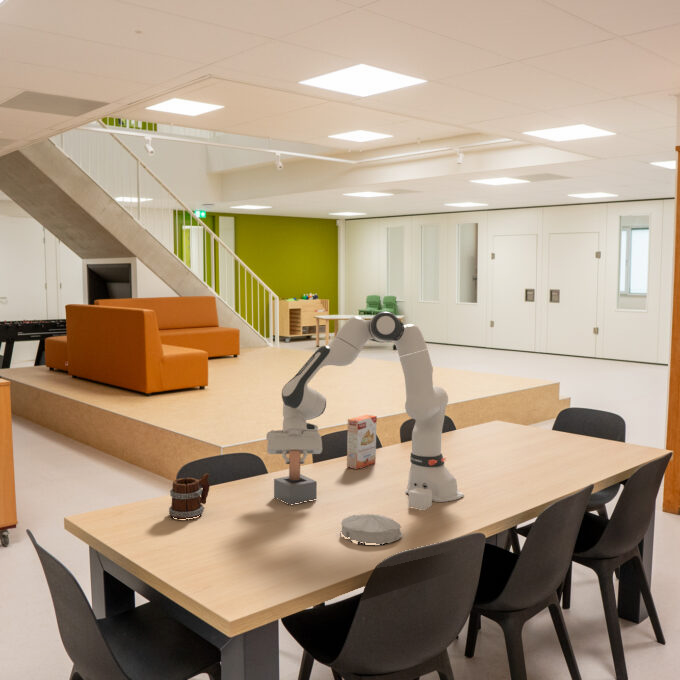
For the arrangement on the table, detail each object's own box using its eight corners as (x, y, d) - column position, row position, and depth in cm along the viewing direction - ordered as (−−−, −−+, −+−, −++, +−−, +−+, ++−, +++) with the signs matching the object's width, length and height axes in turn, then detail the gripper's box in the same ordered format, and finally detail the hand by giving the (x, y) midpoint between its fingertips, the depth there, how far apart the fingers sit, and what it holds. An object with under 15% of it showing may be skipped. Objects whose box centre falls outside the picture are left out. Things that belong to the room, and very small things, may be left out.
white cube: (416, 503, 254) (417, 487, 254) (431, 506, 251) (432, 490, 250) (408, 508, 249) (408, 491, 249) (423, 511, 246) (424, 494, 245)
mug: (159, 514, 240) (165, 470, 240) (194, 512, 250) (200, 469, 250) (178, 523, 232) (184, 477, 232) (214, 520, 242) (219, 476, 242)
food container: (326, 534, 225) (326, 513, 225) (372, 519, 238) (372, 500, 237) (368, 554, 210) (368, 532, 209) (415, 537, 223) (415, 516, 222)
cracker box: (357, 470, 296) (358, 420, 294) (346, 467, 300) (346, 419, 298) (376, 463, 307) (377, 415, 305) (365, 460, 311) (365, 413, 309)
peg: (302, 478, 257) (302, 452, 256) (292, 480, 255) (293, 453, 254) (296, 476, 260) (296, 449, 259) (287, 477, 258) (287, 451, 257)
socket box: (316, 500, 257) (316, 481, 256) (289, 505, 250) (289, 486, 250) (300, 492, 266) (300, 474, 265) (274, 497, 260) (274, 478, 259)
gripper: (266, 426, 262) (265, 459, 253) (321, 425, 264) (323, 458, 255) (266, 435, 267) (266, 467, 258) (321, 434, 268) (322, 467, 260)
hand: (294, 463), depth 256 cm, fingers closed on peg, 4 cm apart
